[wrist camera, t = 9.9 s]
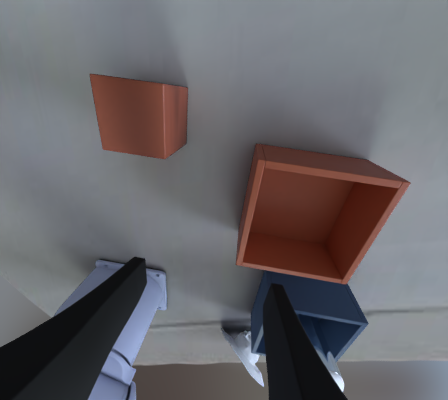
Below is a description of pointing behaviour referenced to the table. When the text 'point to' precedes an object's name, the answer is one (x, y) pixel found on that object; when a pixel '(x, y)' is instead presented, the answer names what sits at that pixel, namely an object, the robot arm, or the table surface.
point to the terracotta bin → (313, 212)
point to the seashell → (245, 353)
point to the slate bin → (313, 310)
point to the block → (140, 115)
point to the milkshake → (321, 346)
